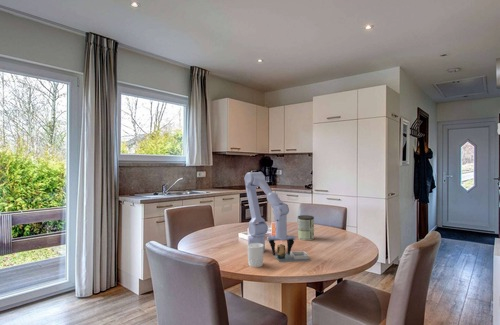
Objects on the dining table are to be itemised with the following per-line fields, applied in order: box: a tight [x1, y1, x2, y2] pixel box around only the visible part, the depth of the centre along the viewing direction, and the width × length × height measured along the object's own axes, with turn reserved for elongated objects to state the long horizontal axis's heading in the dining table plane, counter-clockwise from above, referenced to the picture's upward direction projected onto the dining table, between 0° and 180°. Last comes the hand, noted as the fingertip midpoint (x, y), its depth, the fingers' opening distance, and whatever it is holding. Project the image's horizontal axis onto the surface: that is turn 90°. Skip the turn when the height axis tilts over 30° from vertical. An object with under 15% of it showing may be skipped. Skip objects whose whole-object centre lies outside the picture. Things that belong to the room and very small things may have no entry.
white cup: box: [246, 243, 265, 268], centre depth 137 cm, size 8×8×10 cm
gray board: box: [274, 250, 312, 263], centre depth 147 cm, size 16×14×2 cm
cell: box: [276, 243, 286, 259], centre depth 147 cm, size 4×4×7 cm
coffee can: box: [297, 214, 315, 241], centre depth 187 cm, size 10×10×14 cm
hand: (281, 254), depth 147 cm, fingers open, 7 cm apart
